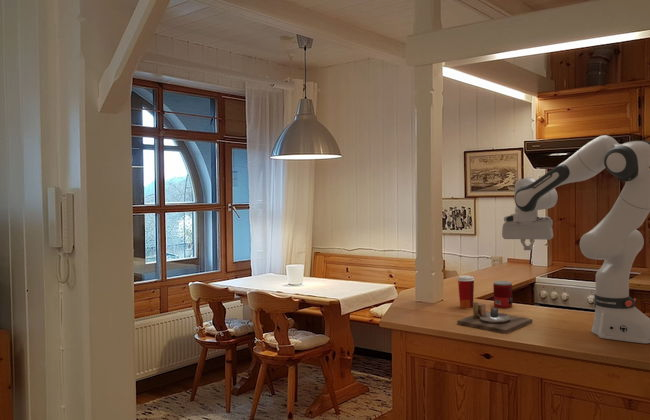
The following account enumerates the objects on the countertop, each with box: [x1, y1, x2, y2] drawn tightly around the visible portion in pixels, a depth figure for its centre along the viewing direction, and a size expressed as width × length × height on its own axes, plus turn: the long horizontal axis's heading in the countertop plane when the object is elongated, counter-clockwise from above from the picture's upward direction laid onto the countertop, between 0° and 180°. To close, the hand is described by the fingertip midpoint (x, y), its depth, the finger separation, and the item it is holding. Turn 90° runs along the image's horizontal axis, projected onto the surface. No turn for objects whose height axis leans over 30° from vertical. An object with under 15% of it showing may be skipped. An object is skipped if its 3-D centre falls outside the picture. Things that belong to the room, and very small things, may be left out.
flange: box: [478, 302, 510, 323], centre depth 235 cm, size 15×12×5 cm
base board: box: [456, 301, 533, 335], centre depth 234 cm, size 22×20×8 cm
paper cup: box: [456, 274, 475, 309], centre depth 262 cm, size 8×8×14 cm
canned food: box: [492, 280, 513, 309], centre depth 261 cm, size 8×8×11 cm
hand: (527, 250), depth 241 cm, fingers closed
